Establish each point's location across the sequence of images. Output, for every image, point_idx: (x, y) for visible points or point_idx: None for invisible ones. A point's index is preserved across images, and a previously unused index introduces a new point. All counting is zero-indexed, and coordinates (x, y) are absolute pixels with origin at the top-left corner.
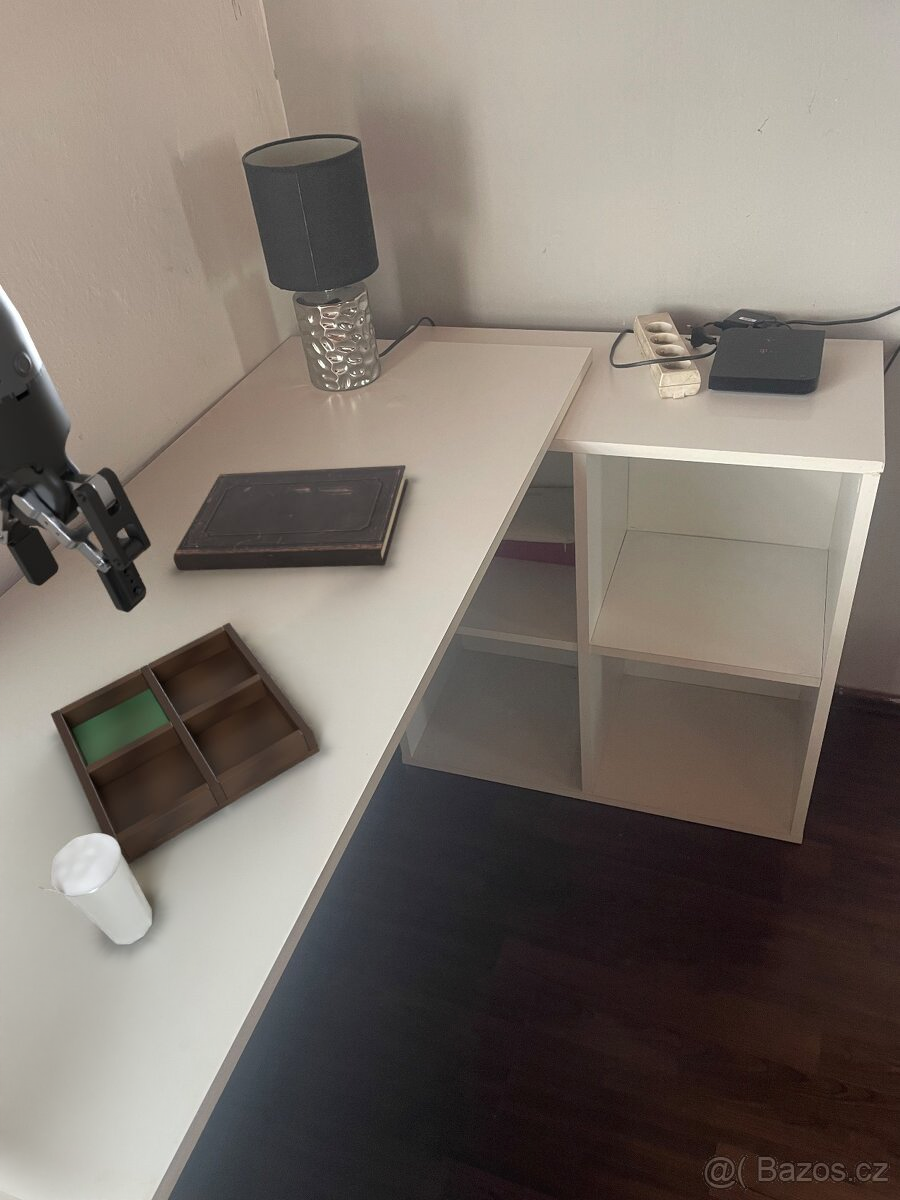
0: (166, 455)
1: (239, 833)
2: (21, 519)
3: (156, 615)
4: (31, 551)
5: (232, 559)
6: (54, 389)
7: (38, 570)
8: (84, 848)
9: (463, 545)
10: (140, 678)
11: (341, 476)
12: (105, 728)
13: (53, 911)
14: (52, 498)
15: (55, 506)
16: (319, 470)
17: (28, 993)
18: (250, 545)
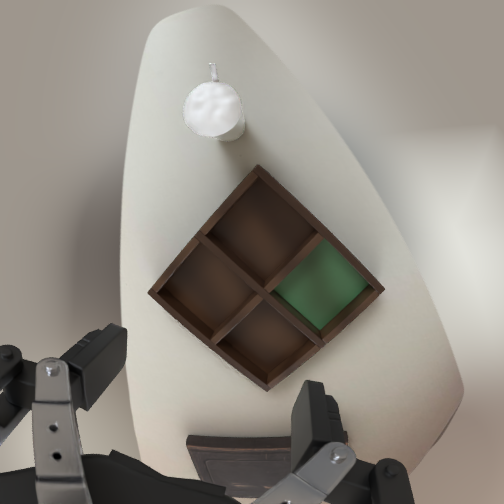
0: None
1: (183, 208)
2: (209, 496)
3: (349, 395)
4: (302, 434)
5: None
6: None
7: (302, 403)
8: (207, 111)
9: (149, 441)
10: (323, 335)
11: (246, 493)
12: (339, 287)
13: (295, 125)
14: (5, 488)
15: (18, 475)
16: None
17: (276, 73)
18: (287, 452)
